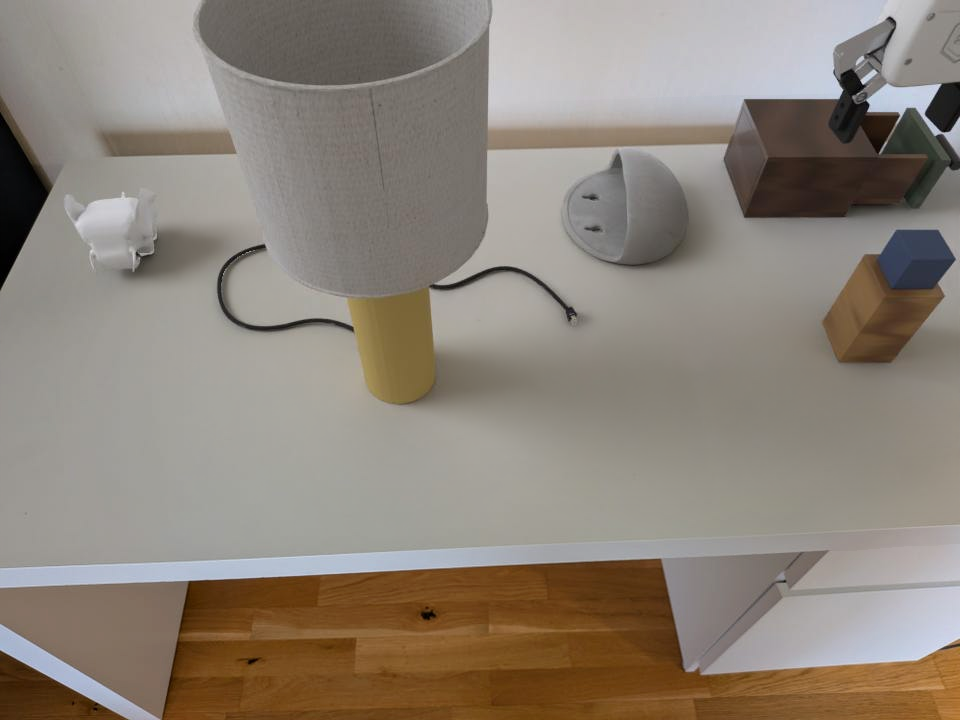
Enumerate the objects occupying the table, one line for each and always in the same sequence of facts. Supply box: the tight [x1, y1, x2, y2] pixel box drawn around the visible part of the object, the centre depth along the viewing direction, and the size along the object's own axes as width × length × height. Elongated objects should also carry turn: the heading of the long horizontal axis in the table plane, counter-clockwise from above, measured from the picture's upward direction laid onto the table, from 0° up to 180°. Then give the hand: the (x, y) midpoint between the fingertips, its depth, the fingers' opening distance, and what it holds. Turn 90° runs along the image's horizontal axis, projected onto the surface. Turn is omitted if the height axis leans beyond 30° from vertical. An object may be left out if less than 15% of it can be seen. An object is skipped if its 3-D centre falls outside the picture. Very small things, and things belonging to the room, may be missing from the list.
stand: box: [821, 253, 946, 363], centre depth 74 cm, size 6×6×11 cm
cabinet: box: [723, 98, 879, 218], centre depth 91 cm, size 14×13×10 cm
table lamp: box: [192, 0, 578, 405], centre depth 63 cm, size 40×34×40 cm
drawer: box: [852, 107, 960, 210], centre depth 91 cm, size 17×11×8 cm
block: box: [877, 229, 957, 289], centre depth 67 cm, size 4×4×4 cm
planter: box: [561, 146, 689, 266], centre depth 88 cm, size 19×7×16 cm
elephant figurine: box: [63, 187, 158, 276], centre depth 82 cm, size 10×12×9 cm
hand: (887, 129), depth 62 cm, fingers open, 9 cm apart
